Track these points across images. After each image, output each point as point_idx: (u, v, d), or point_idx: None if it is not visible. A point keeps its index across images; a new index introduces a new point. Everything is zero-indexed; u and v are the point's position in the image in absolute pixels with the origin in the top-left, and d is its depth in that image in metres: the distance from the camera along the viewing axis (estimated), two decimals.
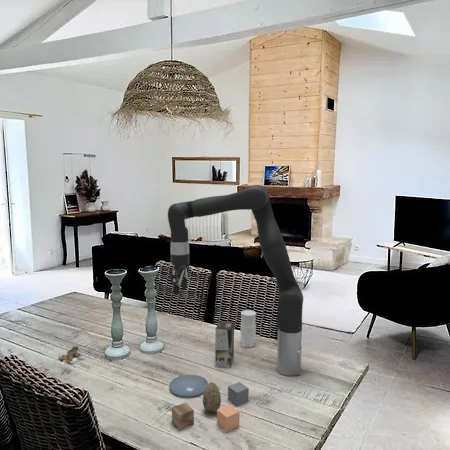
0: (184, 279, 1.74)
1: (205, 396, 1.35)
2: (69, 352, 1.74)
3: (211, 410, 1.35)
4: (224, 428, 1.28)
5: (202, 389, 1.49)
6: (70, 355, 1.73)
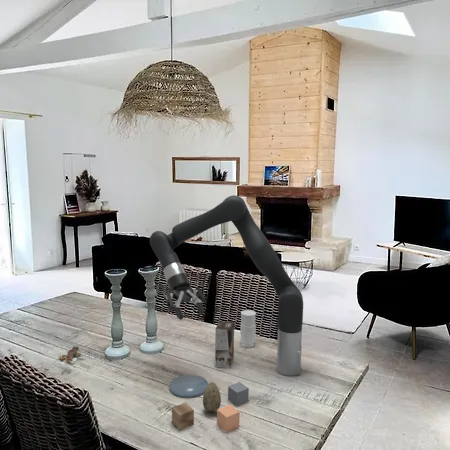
0: (197, 304, 1.53)
1: (205, 396, 1.35)
2: (69, 352, 1.74)
3: (211, 410, 1.35)
4: (224, 428, 1.28)
5: (202, 389, 1.49)
6: (70, 355, 1.73)
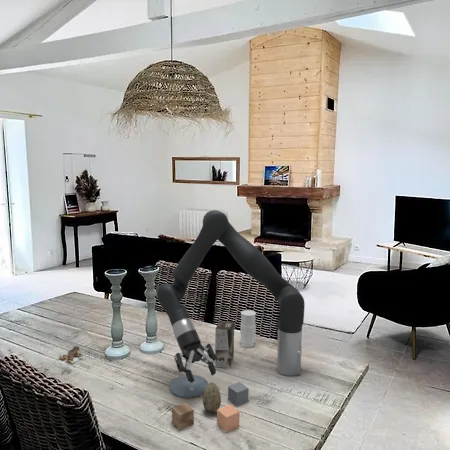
0: (209, 363, 1.45)
1: (205, 396, 1.35)
2: (70, 352, 1.74)
3: (211, 410, 1.35)
4: (224, 428, 1.28)
5: (202, 389, 1.49)
6: (71, 355, 1.73)
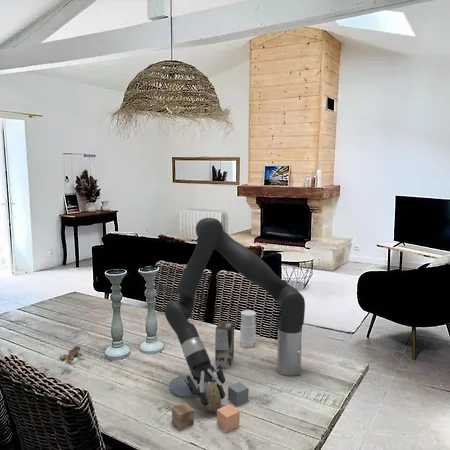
0: (217, 386, 1.39)
1: None
2: (70, 352, 1.74)
3: (211, 410, 1.35)
4: (224, 428, 1.28)
5: None
6: (71, 355, 1.73)
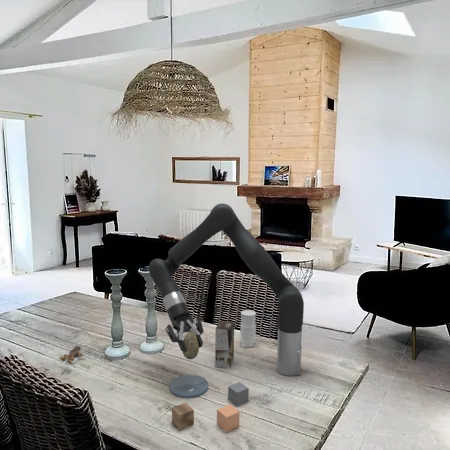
0: (196, 336, 1.50)
1: None
2: (71, 352, 1.74)
3: (189, 356, 1.46)
4: (224, 428, 1.28)
5: (202, 389, 1.49)
6: (72, 355, 1.73)
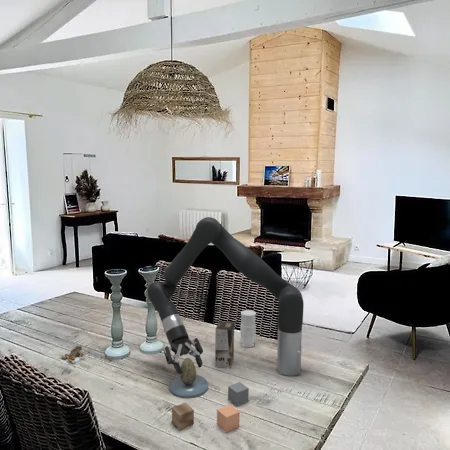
0: (196, 356, 1.54)
1: None
2: (72, 351, 1.74)
3: (187, 382, 1.49)
4: (224, 428, 1.28)
5: (202, 389, 1.49)
6: (73, 354, 1.73)
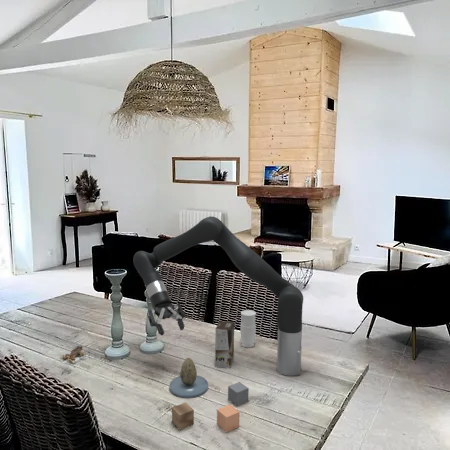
0: (178, 319, 1.63)
1: (182, 370, 1.50)
2: (72, 351, 1.74)
3: (187, 383, 1.49)
4: (224, 428, 1.28)
5: (202, 389, 1.49)
6: (73, 354, 1.73)
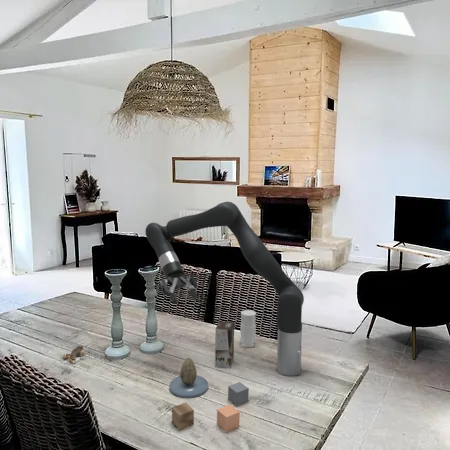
0: (190, 289, 1.64)
1: (182, 370, 1.50)
2: (73, 351, 1.74)
3: (187, 383, 1.49)
4: (224, 428, 1.28)
5: (202, 389, 1.49)
6: (73, 354, 1.74)
